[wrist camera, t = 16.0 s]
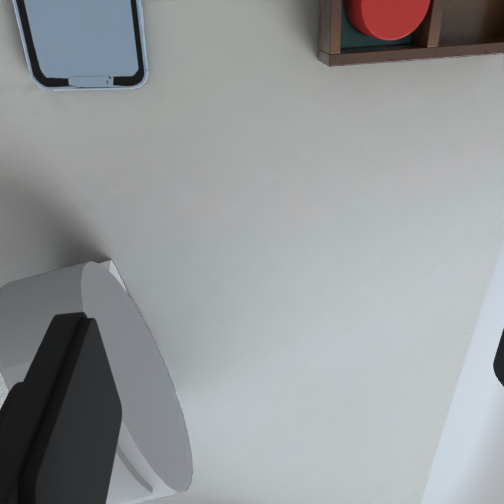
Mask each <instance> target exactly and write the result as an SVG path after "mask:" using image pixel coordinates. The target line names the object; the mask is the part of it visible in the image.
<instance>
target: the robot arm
mask: <svg viewBox="0 0 504 504" xmlns="http://www.w3.org/2000/svg"><path fill="white" fill-rule="evenodd" d="M493 367H494V372H495V375H496V377H497V378H498V380H499V381H500V382H501V384H502V385H503V386H504V329H503V333H502V336H501V339H500V342H499V346H498V349H497V352H496V356H495V359H494V364H493ZM121 422H122V405H121V401H120V398H119V394H118V391H117V388H116V384H115V381H114V377H113V374H112V371H111V367H110V364H109V361H108V357H107V354H106V351H105V347H104V344H103V341H102V337H101V334H100V331H99V327H98V324H97V321H96V319H95V318H88V317H87V315H86V314H85V312H75V313H65V314H56V315H55V316H54V317H53V318H52V320H51V322H50V325H49V327H48V329H47V331H46V333H45V335H44V337H43V340H42V342H41V344H40V346H39V348H38V350H37V352H36V355H35V357H34V359H33V361H32V363H31V365H30V367H29V369H28V372H27V374H26V376H25V378H24V380H23V382H18V383H16V384H15V385H14V386H13V387H12V389H11V390H10V392H9V393H8V395H7V398H6V400H5V402H4V404H3V406H2V408H1V410H0V504H106V500H107V495H108V490H109V485H110V479H111V474H112V469H113V464H114V459H115V453H116V448H117V443H118V438H119V433H120V428H121Z"/></svg>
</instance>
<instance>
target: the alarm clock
mask: <svg viewBox="0 0 504 504" xmlns="http://www.w3.org/2000/svg"><path fill="white" fill-rule="evenodd" d="M75 312H85V314H86V315H87V317H88V318H95V319H96V321H97V324H98V327H99V331H100V334H101V337H102V341H103V344H104V347H105V351H106V354H107V357H108V361H109V364H110V367H111V371H112V374H113V377H114V381H115V384H116V388H117V391H118V394H119V398H120V401H121V405H122V422H121V428H120V433H119V438H118V443H117V448H116V453H115V459H114V464H113V469H112V474H111V479H110V485H109V490H108V495H107V500H106V504H135V503H139V502H144V501H148V500H152V499H156V498H160V497H164V496H169V495H173V494H177V493H181V492H185V491H187V490H188V488H189V486H190V485H191V481H192V474H193V466H192V453H191V447H190V441H189V435H188V432H187V428H186V424H185V420H184V416H183V412H182V409H181V406H180V403H179V400H178V394H177V392H176V390H175V388H174V385H173V383H172V380H171V378H170V375H169V372H168V370H167V367H166V365H165V362H164V360H163V358H162V356H161V354H160V351H159V349H158V347H157V345H156V342H155V340H154V338H153V336H152V334H151V333H150V331H149V329H148V327H147V325H146V323H145V321H144V319H143V317H142V315H141V314H140V312H139V311H138V309H137V307H136V306H135V304H134V303H133V301H132V299H131V298H130V296H129V294H128V292H127V290H126V288H125V286H124V284H123V282H122V280H121V278H120V276H119V274H118V272H117V270H116V268H115V266H114V264H113V261H112V260H109V261H105V262H101V263H96V262H93V261H88V262H84V263H81V264H77V265H73V266H69V267H65V268H62V269H58V270H54V271H50V272H47V273H43V274H39V275H35V276H31V277H28V278H24V279H20V280H16V281H13V282H9V283H8V284H6V285H5V286H3V287H2V288H0V370H1V373H2V375H3V378H4V380H5V383H6V385H7V388H8V390H9V392H10V390H11V389H12V387H13V386H14V385H15V384H16V383H18V382H23V380H24V378H25V376H26V374H27V372H28V369H29V367H30V365H31V363H32V361H33V359H34V357H35V355H36V352H37V350H38V348H39V346H40V344H41V342H42V340H43V337H44V335H45V333H46V331H47V329H48V327H49V325H50V322H51V320H52V318H53V317H54V316H55V315H56V314H65V313H75Z"/></svg>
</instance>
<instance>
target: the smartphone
mask: <svg viewBox="0 0 504 504" xmlns="http://www.w3.org/2000/svg"><path fill="white" fill-rule="evenodd" d="M12 1H13V6H14V10H15V14H16V19H17V23H18V27H19V32H20V36H21V40H22V45H23V49H24V53H25V57H26V62H27V66H28V70H29V74H30V77H31V79H32V80H33V82H34V83H35V84H36V85H37V86H38V87H40V88H42V89H44V90H49V91H55V90H104V89H136V88H139V87H141V86H142V85H143V84H144V83H145V82H146V80H147V78H148V74H149V68H148V59H147V50H146V41H145V32H144V19H143V10H142V5H141V0H12Z"/></svg>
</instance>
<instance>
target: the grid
mask: <svg viewBox="0 0 504 504" xmlns="http://www.w3.org/2000/svg"><path fill="white" fill-rule="evenodd" d="M495 54H504V0H430V4H429V7H428V10H427V13H426V15H425V17H424V19H423V20H422V22H421V23H420V24H419V25H418V27H417V28H416V29H415V30H414V31H412V32H411V33H410V34H408V35H407V36H405V37H403V38H400V39H397V40H383V39H379V38H375V37H371V36H367V35H363V34H361V33H359V32H357V31H356V30H355V29H354V28H353V27H352V26H351V25H350V23H349V22H348V20H347V17H346V14H345V9H344V0H319V27H318V60H319V61H321V62H322V63H324V64H326V65H327V66H329V67H331V66H345V65H358V64H372V63H386V62H399V61H413V60H427V59H440V58H454V57H468V56H481V55H495Z"/></svg>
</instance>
